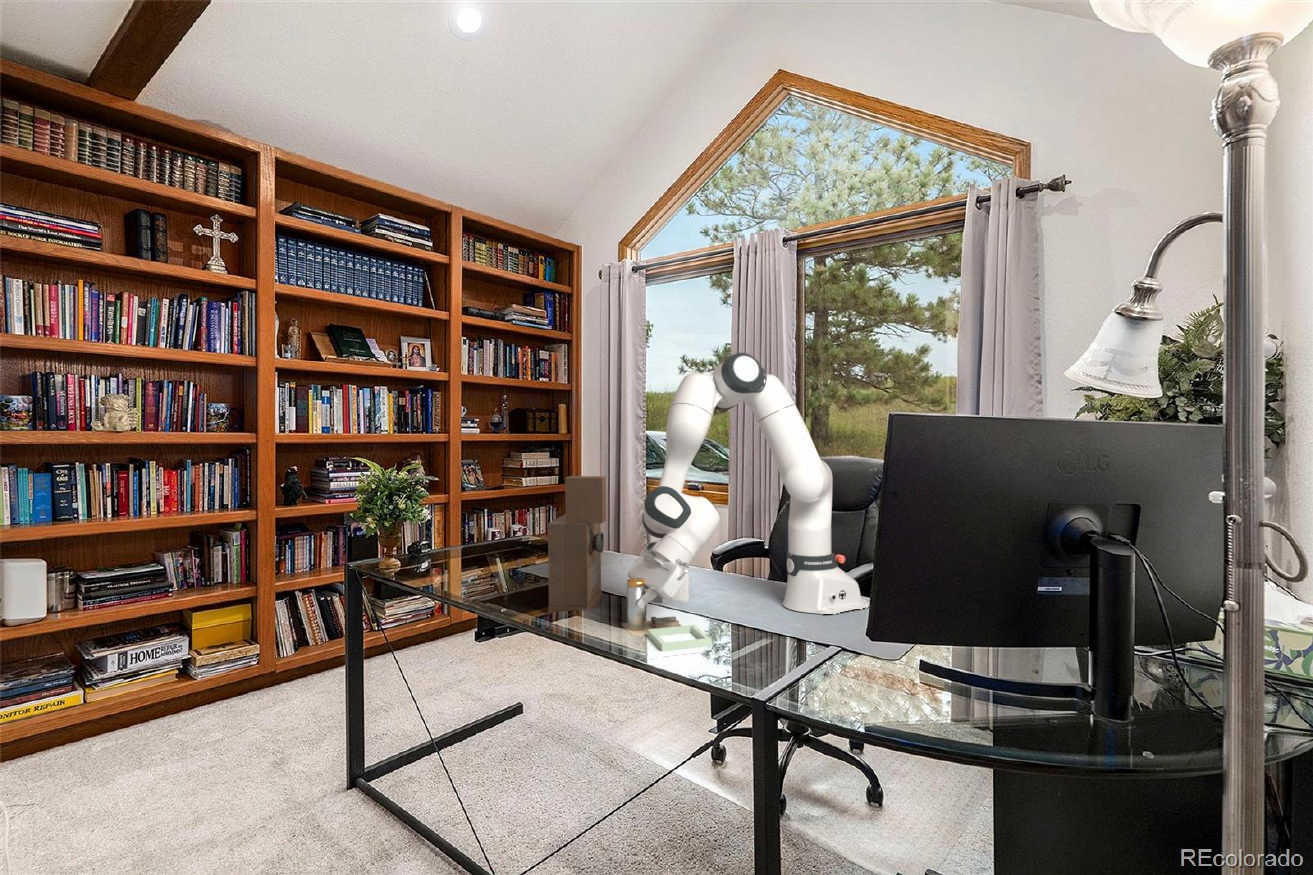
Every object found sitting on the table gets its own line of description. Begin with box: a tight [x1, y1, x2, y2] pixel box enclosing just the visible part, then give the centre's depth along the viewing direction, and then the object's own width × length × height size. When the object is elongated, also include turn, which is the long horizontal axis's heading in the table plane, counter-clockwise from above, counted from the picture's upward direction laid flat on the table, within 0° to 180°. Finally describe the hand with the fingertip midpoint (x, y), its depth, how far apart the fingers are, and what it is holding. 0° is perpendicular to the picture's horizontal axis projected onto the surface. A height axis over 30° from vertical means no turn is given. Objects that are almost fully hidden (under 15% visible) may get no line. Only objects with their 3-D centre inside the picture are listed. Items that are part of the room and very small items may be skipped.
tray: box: [647, 624, 713, 658], centre depth 143 cm, size 11×11×3 cm
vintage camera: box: [547, 475, 607, 614], centre depth 178 cm, size 19×14×35 cm
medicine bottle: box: [661, 572, 691, 604], centre depth 180 cm, size 7×7×12 cm
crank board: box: [620, 615, 682, 637], centre depth 154 cm, size 13×10×3 cm
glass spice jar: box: [626, 578, 646, 631], centre depth 152 cm, size 4×4×11 cm
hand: (633, 603), depth 152 cm, fingers closed on glass spice jar, 4 cm apart
